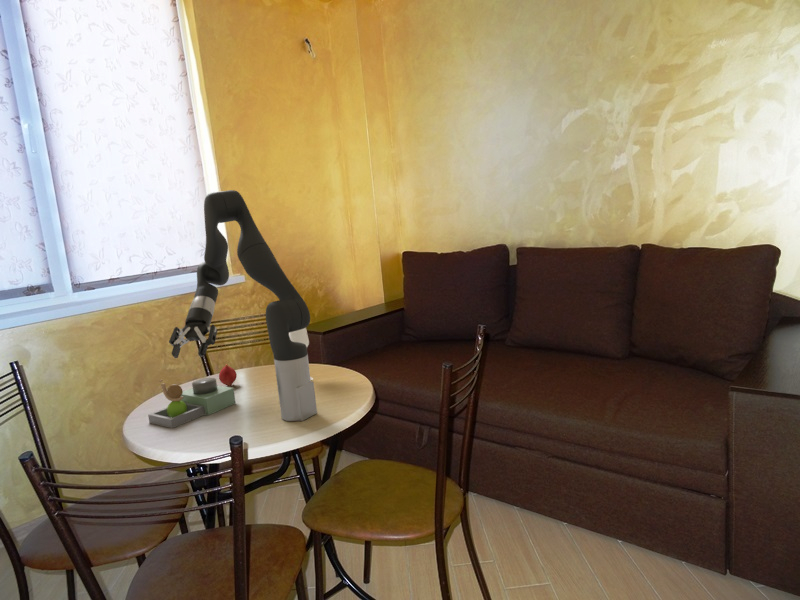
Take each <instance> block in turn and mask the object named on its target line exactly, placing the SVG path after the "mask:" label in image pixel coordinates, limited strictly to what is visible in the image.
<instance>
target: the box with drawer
mask: <svg viewBox="0 0 800 600" xmlns="http://www.w3.org/2000/svg"><path fill="white" fill-rule="evenodd" d="M191 386H192V387H191V388H188V389H186V390H182V395H181V396H180V397H182V396H183V399H182V400H181V401H183V402H184V403H185V404H186V406H187V411H186V413H183V414H181V415H178V416H176V417H173V418H171V417H170V416H169V415H168V413H167V407H165V408H162V409H159V410H156V411H154V412H151V413H149V414H147V415H148V422H149V423H150V424H153V425H157V426H162V427H166V428H170V429H174V428H177V427H179V426H182V425H183V424H186V423H187V422H190V421H193V420H194V419H195V420H196V419H198V418H200V417H202V416H204V415H207V416H208V415H212V414H214V413H216V412H218V411H221V410H223V409H226V408H228V407H230V406H233V405H235V404H236V396H235V391H234V387H231V386H225V385H224V386H222V385H218V384H217V378H214V377H205V378H201V379H197V380H194V381H193V382H192V383H191Z"/></svg>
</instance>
